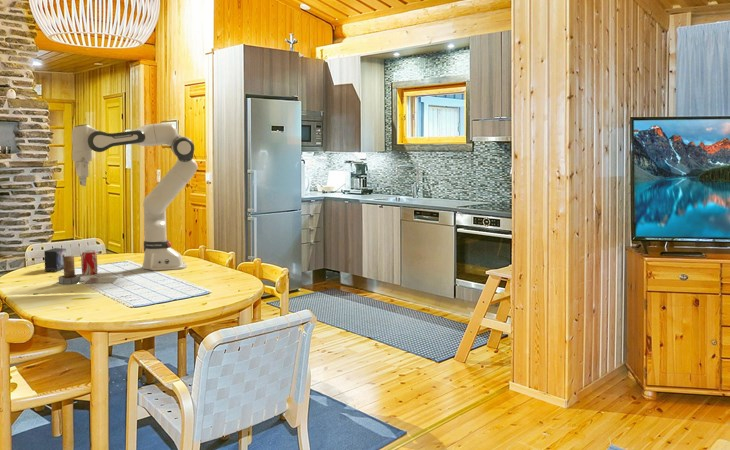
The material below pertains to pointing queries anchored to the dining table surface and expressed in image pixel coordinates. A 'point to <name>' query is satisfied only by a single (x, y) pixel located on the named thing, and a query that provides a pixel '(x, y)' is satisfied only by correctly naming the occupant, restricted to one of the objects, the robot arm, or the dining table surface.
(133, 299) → the dining table surface
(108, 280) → the pad
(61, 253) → the small box
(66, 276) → the peg
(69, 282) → the ring stand
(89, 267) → the soda can
